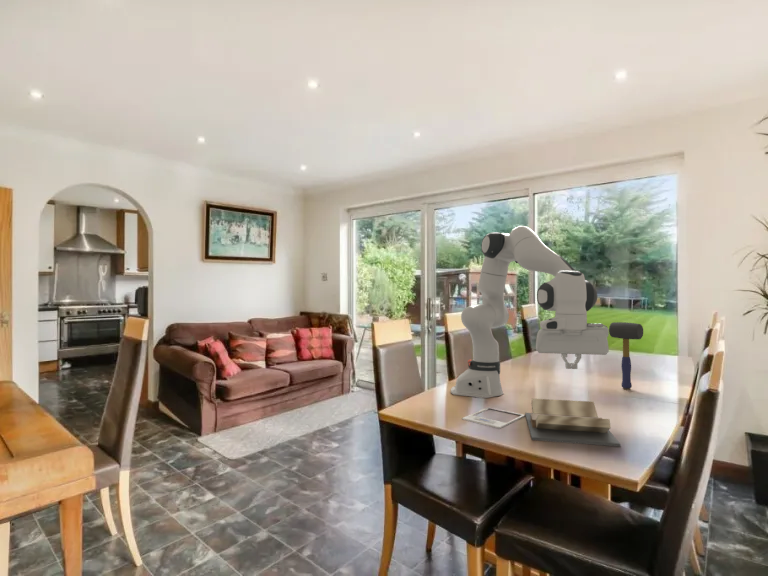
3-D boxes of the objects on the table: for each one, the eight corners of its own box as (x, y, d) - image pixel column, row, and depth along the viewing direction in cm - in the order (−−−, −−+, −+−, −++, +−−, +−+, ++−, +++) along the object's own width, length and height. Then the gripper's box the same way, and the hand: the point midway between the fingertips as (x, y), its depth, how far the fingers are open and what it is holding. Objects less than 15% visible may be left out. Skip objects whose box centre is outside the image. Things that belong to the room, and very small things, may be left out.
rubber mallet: (608, 387, 191) (607, 322, 191) (616, 385, 196) (615, 321, 196) (638, 393, 181) (637, 323, 181) (645, 390, 186) (644, 322, 186)
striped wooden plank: (532, 427, 135) (532, 419, 135) (530, 420, 142) (530, 413, 142) (607, 432, 130) (607, 424, 130) (601, 425, 137) (601, 417, 137)
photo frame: (462, 417, 147) (488, 406, 160) (462, 420, 147) (488, 409, 160) (500, 426, 137) (525, 414, 150) (500, 430, 137) (525, 417, 150)
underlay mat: (532, 439, 126) (532, 437, 126) (525, 414, 151) (525, 412, 152) (620, 446, 120) (620, 443, 120) (598, 419, 146) (597, 417, 146)
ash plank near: (538, 423, 128) (537, 414, 129) (536, 428, 134) (535, 420, 135) (610, 427, 123) (609, 419, 124) (605, 432, 129) (604, 424, 130)
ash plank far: (533, 418, 143) (533, 413, 142) (531, 403, 149) (531, 398, 148) (597, 422, 138) (598, 417, 137) (592, 407, 144) (593, 401, 143)
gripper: (605, 322, 128) (606, 367, 128) (534, 322, 133) (535, 365, 133) (611, 324, 122) (611, 371, 122) (537, 323, 127) (537, 369, 127)
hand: (571, 368), depth 128 cm, fingers closed
